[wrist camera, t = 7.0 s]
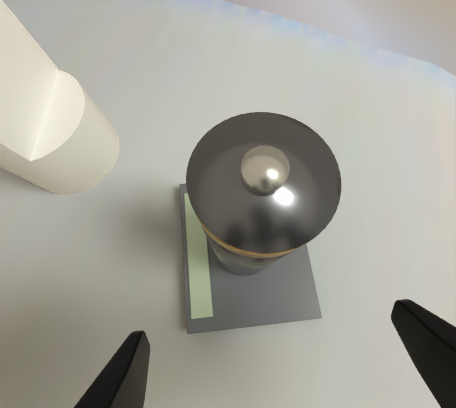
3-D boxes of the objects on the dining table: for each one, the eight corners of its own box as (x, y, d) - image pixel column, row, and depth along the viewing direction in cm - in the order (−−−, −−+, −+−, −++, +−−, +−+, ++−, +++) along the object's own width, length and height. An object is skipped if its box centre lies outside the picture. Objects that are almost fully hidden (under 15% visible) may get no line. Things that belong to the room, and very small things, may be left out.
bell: (262, 285, 19) (326, 278, 6) (205, 262, 20) (153, 212, 7) (281, 228, 20) (365, 125, 7) (227, 208, 21) (219, 82, 8)
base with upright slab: (111, 195, 23) (-10, 106, 12) (17, 193, 23) (-190, 106, 12) (125, 115, 26) (40, -20, 14) (42, 114, 26) (-106, -18, 15)
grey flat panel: (316, 316, 19) (322, 318, 18) (190, 331, 19) (186, 334, 18) (288, 177, 23) (291, 170, 22) (182, 189, 23) (179, 183, 22)
